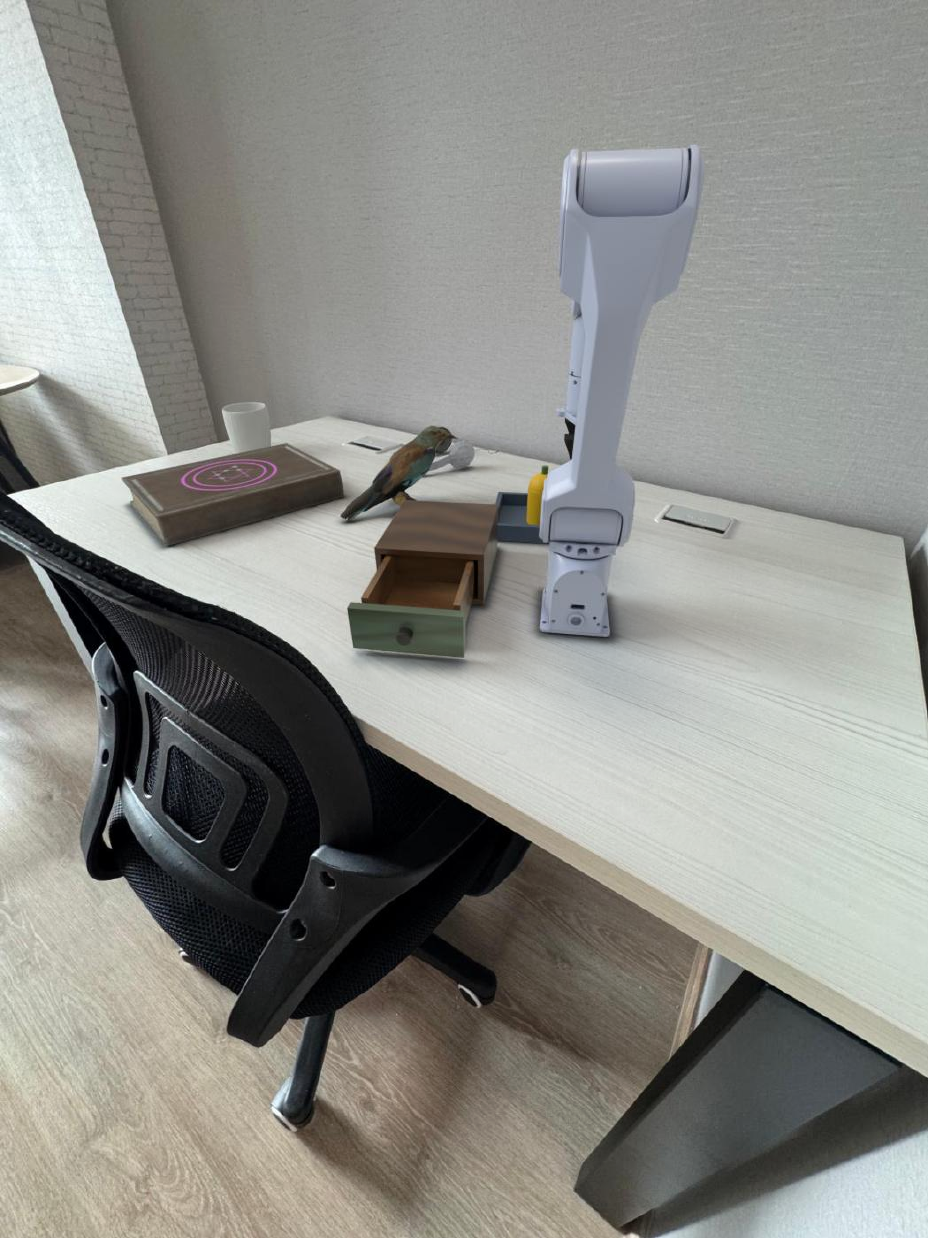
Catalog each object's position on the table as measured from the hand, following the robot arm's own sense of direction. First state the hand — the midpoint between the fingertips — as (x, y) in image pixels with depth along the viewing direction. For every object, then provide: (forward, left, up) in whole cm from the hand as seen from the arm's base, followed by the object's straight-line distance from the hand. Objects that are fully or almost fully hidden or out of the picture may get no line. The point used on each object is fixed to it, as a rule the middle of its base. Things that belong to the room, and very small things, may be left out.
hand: (580, 478), depth 78 cm
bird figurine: (+10, +29, -11) cm, 32 cm away
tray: (+7, +5, -10) cm, 13 cm away
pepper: (+7, +5, -10) cm, 13 cm away
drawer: (-24, +18, -9) cm, 31 cm away
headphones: (+34, +27, -11) cm, 45 cm away
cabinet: (-10, +18, -10) cm, 23 cm away
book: (+10, +59, -11) cm, 61 cm away
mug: (+37, +70, -11) cm, 80 cm away
